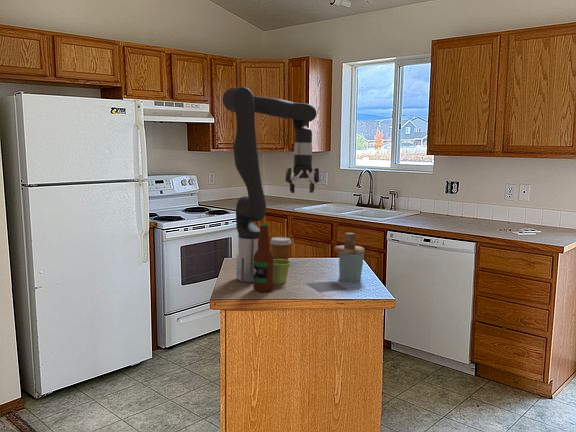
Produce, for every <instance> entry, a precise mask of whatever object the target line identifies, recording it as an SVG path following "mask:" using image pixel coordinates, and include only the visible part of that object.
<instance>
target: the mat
mask: <svg viewBox="0 0 576 432" xmlns="http://www.w3.org/2000/svg"><path fill="white" fill-rule="evenodd" d="M306 285H307V286H308V287H310V288H311V289H313V290H315V291H317V292H318V293H323V292H324V293H326V292H333V291H334V292H335V291H344V290H348V288H347V287H344V286H343V285H342V284H339V283H338V282H336V281H334V280H331V281H329V280H328V281H319V282H310V283H309V282H307V283H306Z"/></svg>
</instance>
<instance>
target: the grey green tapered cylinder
mask: <svg viewBox="0 0 576 432" xmlns="http://www.w3.org/2000/svg"><path fill="white" fill-rule="evenodd" d="M364 257H365V252H364V253H361V254H343V253H338V260H339V261H338V268H339V269H338V271H339V272H338V274H339V275H338V276H339V277H338V278H339V280H340V281H343V282H346V283H349V282H350V283H353V282H354V283H356V282H361V279H362V272H363V271H362V270H363V264H364Z"/></svg>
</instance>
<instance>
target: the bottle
mask: <svg viewBox="0 0 576 432" xmlns="http://www.w3.org/2000/svg"><path fill="white" fill-rule="evenodd" d="M259 230H260V234H259V239H258V250H257V251H256V253H255V255H254V275H253V290H254V291H255V292H257V293H269V292H271V291H272V290H274V289H273V288H274V283H273V254H272V250H271V249H270V247H271V242H270V236H269V224H268V223H260V224H259Z"/></svg>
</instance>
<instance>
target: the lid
mask: <svg viewBox="0 0 576 432" xmlns="http://www.w3.org/2000/svg"><path fill="white" fill-rule="evenodd" d="M356 237H357V235H356V233H354V232H344V244H342V245H336V246H334V251H335V252H336V253H338V254H339V253H343V254H361V253H364V254H365V251H366V250H365V249H366V248H364V247H363V246H360V245H356V240H357V238H356Z"/></svg>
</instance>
